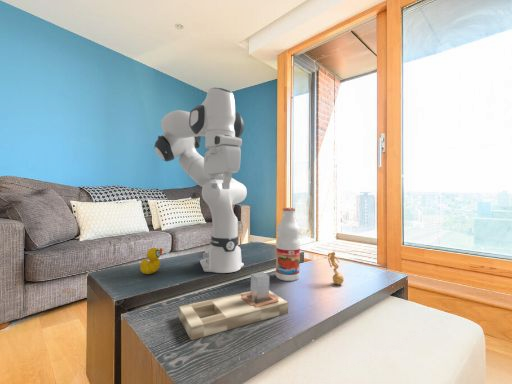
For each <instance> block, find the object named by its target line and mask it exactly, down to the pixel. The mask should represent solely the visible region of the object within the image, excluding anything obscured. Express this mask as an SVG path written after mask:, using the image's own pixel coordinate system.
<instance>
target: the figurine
mask: <svg viewBox="0 0 512 384" xmlns="http://www.w3.org/2000/svg"><path fill="white" fill-rule="evenodd" d="M327 257H328V258H327V260H328V264H329V266H330V268H332V267H333V269H332V270H333V273H334V274H333V275H332V281H333V283H334V284H335V285H337V286H338V285H342V284H343V283H344V277H343V275H342V274H340V272H338V271H337V269H339V264H338V263H340V261H339V260H338V258H337V257H336V252H335V251H332V252H328V254H327ZM336 261H337V262H338V263H337V262H336Z"/></svg>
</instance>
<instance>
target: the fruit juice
mask: <svg viewBox="0 0 512 384" xmlns="http://www.w3.org/2000/svg"><path fill="white" fill-rule="evenodd" d="M295 208H296V207H283V208H282V213H283V214H282V217H281V220H280V222H279V223H278V225H277V227H276V232H277V239H276V246H275V247H276V248H275V254H276V255H275V277H276V278H277V279H278V280H281V281H287V282H293V281H297V280H298V279H299V278H300V257H301V256H300V255H301V253H300V252H301V251H300V250H301V242H300V239H299V237H300V232H301V228H300V226H299V224H298V222H297V220H296V216H295V213H296V209H295Z"/></svg>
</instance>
